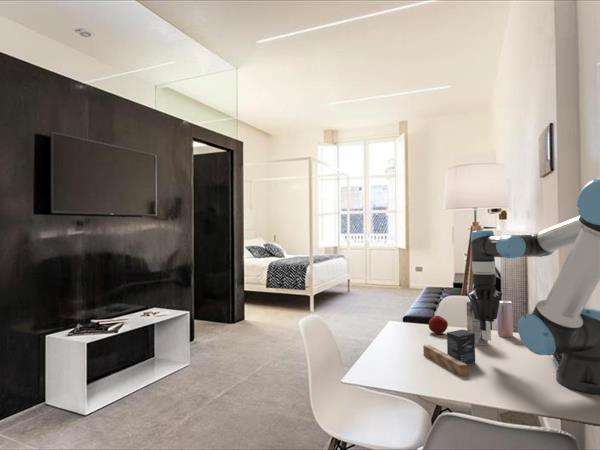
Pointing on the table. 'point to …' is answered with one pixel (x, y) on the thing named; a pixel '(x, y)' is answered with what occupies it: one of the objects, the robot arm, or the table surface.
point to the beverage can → (505, 319)
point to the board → (445, 360)
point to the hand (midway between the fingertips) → (486, 339)
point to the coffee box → (474, 326)
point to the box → (461, 345)
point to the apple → (438, 324)
